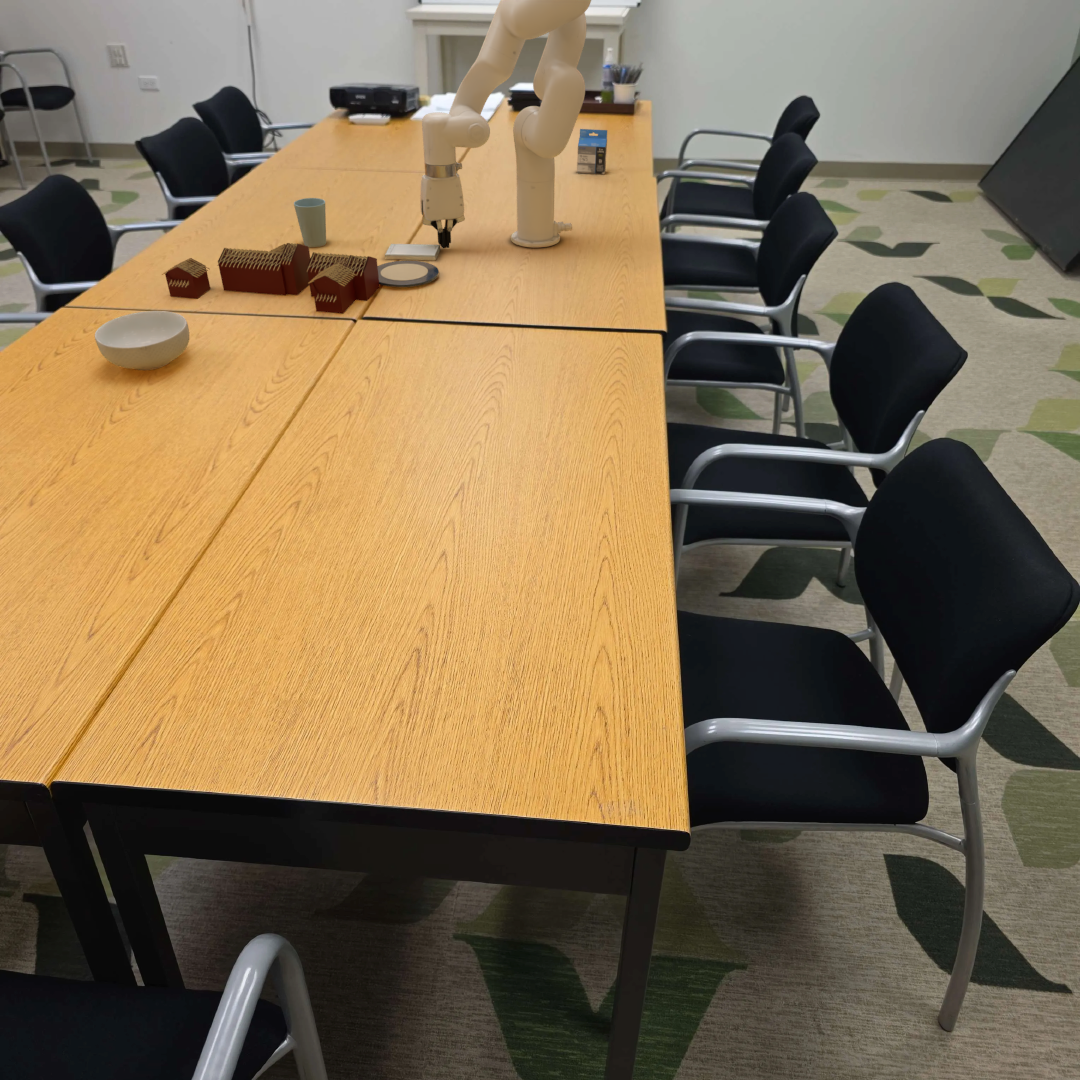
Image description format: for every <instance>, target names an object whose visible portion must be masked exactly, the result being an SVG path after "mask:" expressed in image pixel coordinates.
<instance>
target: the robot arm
mask: <svg viewBox="0 0 1080 1080" xmlns="http://www.w3.org/2000/svg"><path fill="white" fill-rule="evenodd" d="M591 2H592V0H499V2H498V4H497V6H496V9H495V12H494V14H493V16H492V19H491V22H490V24H489V27H488V30H487V32H486V35H485V38H484V40H483V43H482V45H481V48H480V50H479V52H478V55H477V57H476V59H475V61H474V62H473V63H472V65H471V66H470V68H469V70H468V71H467V73H466V74H465V75H464V77H463V79H462V81H461V83H460V84H459V86H458V88H457V91H456V93H455V96H454V98H453V101H452V104H451V106H450V109H449V112H443V111H441V112H440V111H439V112H438V111H436V112H429V113H426V114H425V115H423V116H422V118H421V119H422V120H421V127H422V128H421V129H422V142H423V143H422V144H423V145H422V146H423V160H424V162H423V163H424V174H423V175H421V180H420V195H419V196H420V198H419V199H420V204H419V205H420V213H421V215H422V217H421V223H422V224H423V226H429V227H430V226H431V227H433V229H435V230H436V232H437V243H438V245H440V248H442V249H443V250H444V249H450V244H451V243H452V231H453V229H454V228H455V226H456V225H457V224H459V223H462V222H465V220H466V217H465V201H464V193H463V186H462V181H461V176H460V174H459V173H458V171H460V170H463V163H461V162H457V152H456V151H457V150H456V149H457V148H464V149H465V148H466V149H478V148H480V147H483V146H484V145H486V143H487V142H488V141H489V138H490V135H491V128H490V124H489V123H488V122H489V121H487V119H486V118H485V117H484V116H483V115H482V112H483V109H484V108H485V105H486V102H487V101H488V99H489V97H490V96H491V94H492V93H493V92H494V91H495V89H497V87H498V86H500V85H502V84H503V83H505V82H506V81H508V80H509V78H511V76H512V75H513V73H514V71H515V68H516V65H517V62H518V60H519V57H520V55H521V52H522V50H523V48H524V45H525V43H526V41H527V40H533V39H534V40H535V39H537V38H540V37H542V36H544V35H546V34H548V35H547V39H546V43H545V45H544V48H543V51H542V54H541V57H540V60H539V61H538V65H537V68H536V71H535V74H534V77H533V81H532V88H533V92H534V94H535V95H536V97H537V98H538V99H539V100H540V101H541V103H540V106H537V105H530V106H527V107H524V108H522V109H521V110H520V111H519V112H518V113H517V115H516V117H515V119H514V121H513V130H512V132H513V143H514V149H515V150H514V151H515V152H514V153H515V165H516V166H515V169H516V171H515V172H516V230H515V231H514V232H513V233H512V234H511V235H510V240H511V242H512V243H513V244H514V245H517V246H519V247H523V248H546V247H551V246H554V245H557V244H558V243H559V242H560V241H561V236H560V235H561V232H570V231H572V230H573V223H572V222H565V223H564V221H558V222H557V221H556V220H555V186H556V185H555V180H556V178H555V177H556V163H555V161H556V160H555V158H556V157H558V156H559V155H561V153H562V152H564V150H565V148H566V147H567V145H568V143H569V140H570V138H571V136H572V134H573V131H574V128H575V125H576V123H577V120H578V117H579V115H580V112H581V110H582V107H583V103H584V101H585V97H586V96H585V95H586V82H585V78H584V76H583V75H582V73H581V72H580V71H579V69H577V68H578V65H579V62H580V59H581V56H582V53H583V49H584V46H585V42H586V38H587V18H586V11H587V10H588V9H589V7H590V5H591V4H592V3H591ZM443 220H444V226H443V223H442V221H443Z"/></svg>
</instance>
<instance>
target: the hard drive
mask: <svg viewBox="0 0 1080 1080" xmlns="http://www.w3.org/2000/svg"><path fill="white" fill-rule="evenodd" d="M440 252H441V245H440V244H427V243H425V244H424V243H422V244H421V243H419V244H418V243H391V244H390V245H389V246H388V248H387V250H386V252H385V254H384V259H385V260H387V261H388V260H391V261H392V260H393V261H394V260H395V261H436V260H437V259H438V256H439V255H440Z"/></svg>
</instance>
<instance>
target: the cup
mask: <svg viewBox="0 0 1080 1080" xmlns="http://www.w3.org/2000/svg"><path fill="white" fill-rule="evenodd" d="M293 206H294V211H295V214H296V218H297V222H298V226H299V229H300V234H301V238H302V241H303V245H305V246H308V247H309V248H320V247H323V246H326V244H327V220H326V219H327V217H326V213H327V212H326V200H325V199H323V198H319V197H305V198H300V199H297V200H295V201H294V202H293Z"/></svg>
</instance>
